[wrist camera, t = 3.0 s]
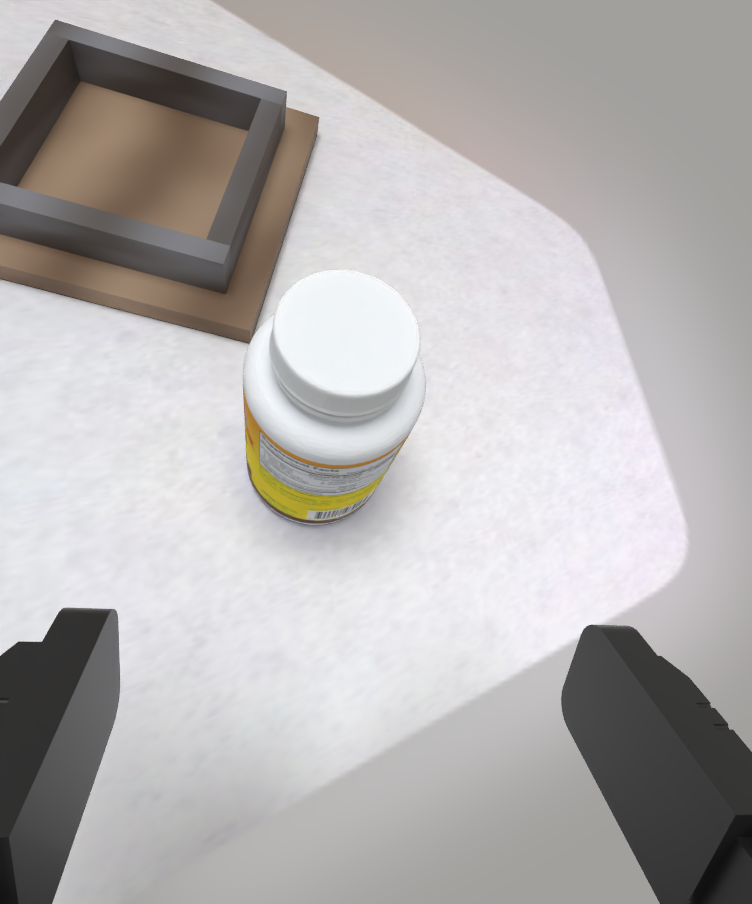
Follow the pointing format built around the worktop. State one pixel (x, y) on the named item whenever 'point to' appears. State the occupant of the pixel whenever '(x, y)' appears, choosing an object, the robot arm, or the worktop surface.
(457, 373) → the worktop surface
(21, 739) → the robot arm
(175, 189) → the collar base
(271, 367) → the supplement bottle
